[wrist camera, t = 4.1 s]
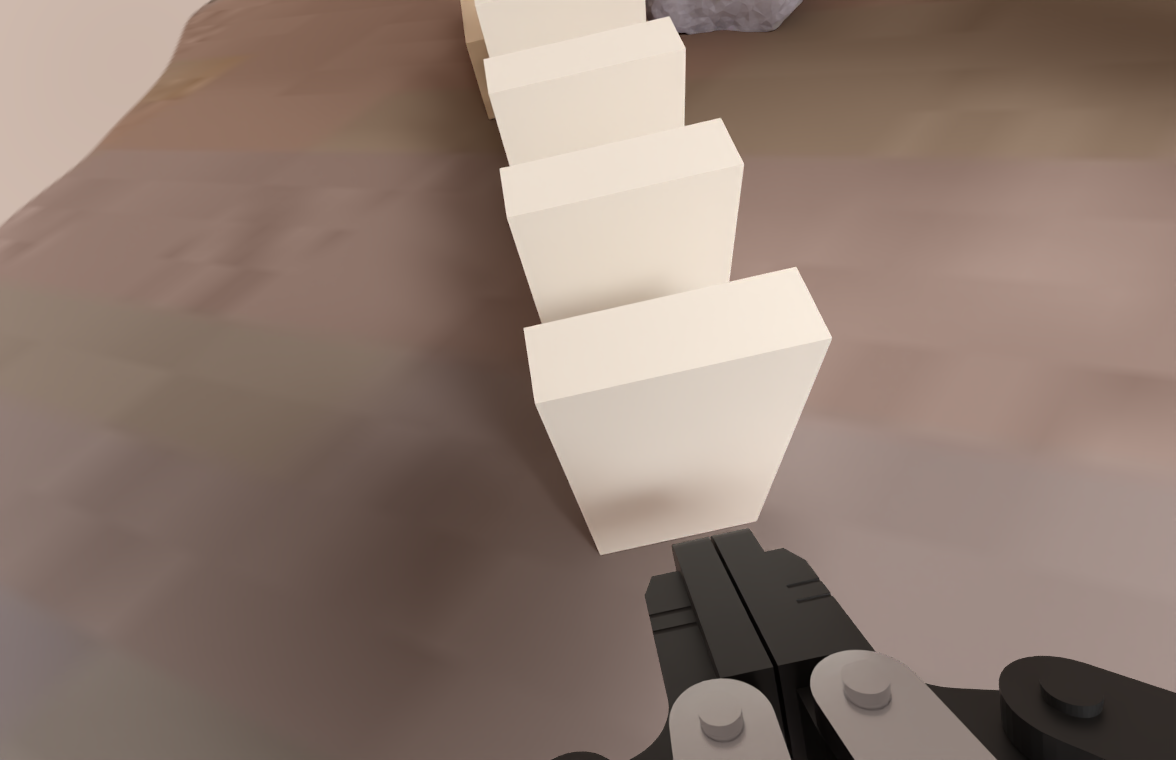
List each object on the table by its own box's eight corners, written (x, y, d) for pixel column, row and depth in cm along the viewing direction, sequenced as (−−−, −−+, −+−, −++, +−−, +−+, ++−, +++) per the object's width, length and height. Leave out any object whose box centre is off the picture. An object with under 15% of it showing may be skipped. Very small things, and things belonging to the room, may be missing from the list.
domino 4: (591, 506, 19) (523, 328, 10) (740, 474, 19) (796, 267, 10) (600, 554, 18) (534, 404, 9) (756, 521, 18) (832, 337, 9)
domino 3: (569, 391, 21) (499, 168, 13) (701, 362, 21) (720, 117, 13) (576, 429, 20) (507, 217, 12) (714, 398, 20) (744, 163, 12)
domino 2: (551, 299, 24) (483, 59, 15) (670, 272, 23) (669, 16, 15) (557, 329, 23) (488, 93, 14) (681, 302, 23) (685, 48, 14)
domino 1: (537, 224, 26) (471, -21, 17) (645, 199, 26) (631, -58, 17) (542, 249, 25) (475, 5, 17) (653, 223, 25) (643, -34, 17)
